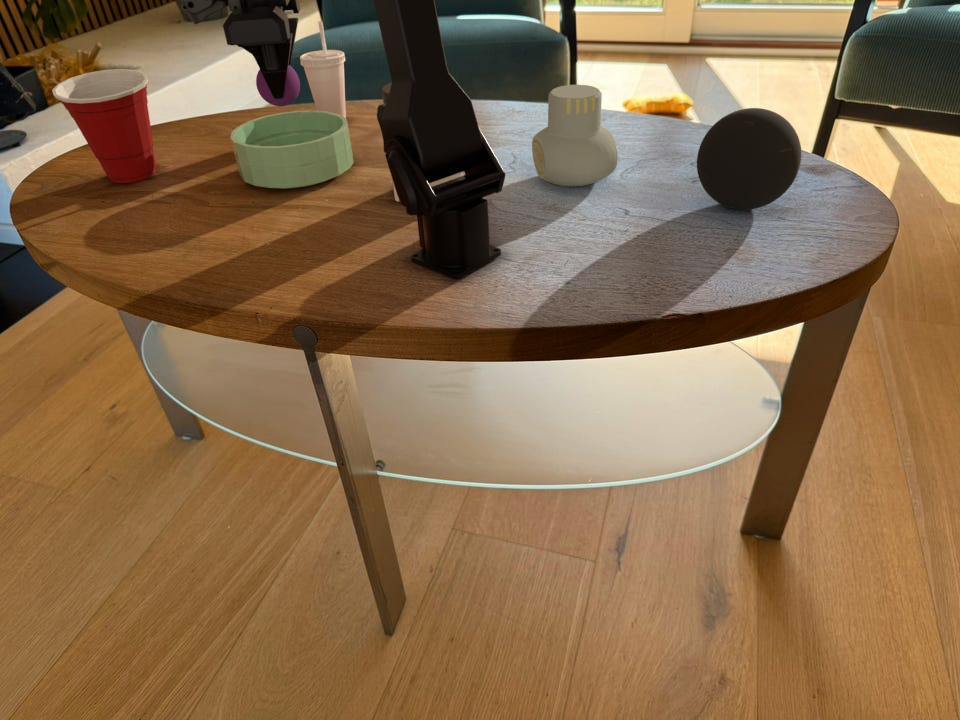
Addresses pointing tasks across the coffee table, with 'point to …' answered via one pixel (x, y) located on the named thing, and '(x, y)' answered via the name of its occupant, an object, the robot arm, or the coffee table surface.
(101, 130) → the plastic cup
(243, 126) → the bowl
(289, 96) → the ball
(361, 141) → the coffee table surface
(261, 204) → the coffee table surface
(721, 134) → the speaker
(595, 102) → the air freshener
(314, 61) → the smoothie
